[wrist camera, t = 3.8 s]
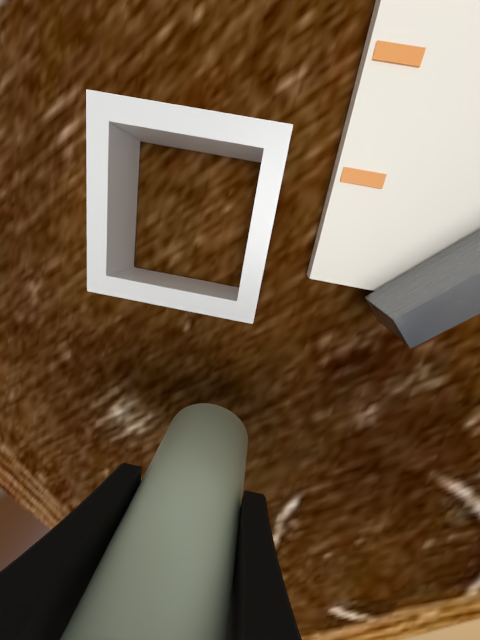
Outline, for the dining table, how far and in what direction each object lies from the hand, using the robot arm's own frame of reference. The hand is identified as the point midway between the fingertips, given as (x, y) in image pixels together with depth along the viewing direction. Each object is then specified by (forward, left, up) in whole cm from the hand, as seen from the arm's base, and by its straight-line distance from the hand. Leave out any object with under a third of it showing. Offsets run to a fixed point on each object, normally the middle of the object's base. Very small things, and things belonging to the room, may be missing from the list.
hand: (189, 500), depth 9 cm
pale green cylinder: (0, 0, -3) cm, 3 cm away
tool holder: (+3, -9, -7) cm, 11 cm away
